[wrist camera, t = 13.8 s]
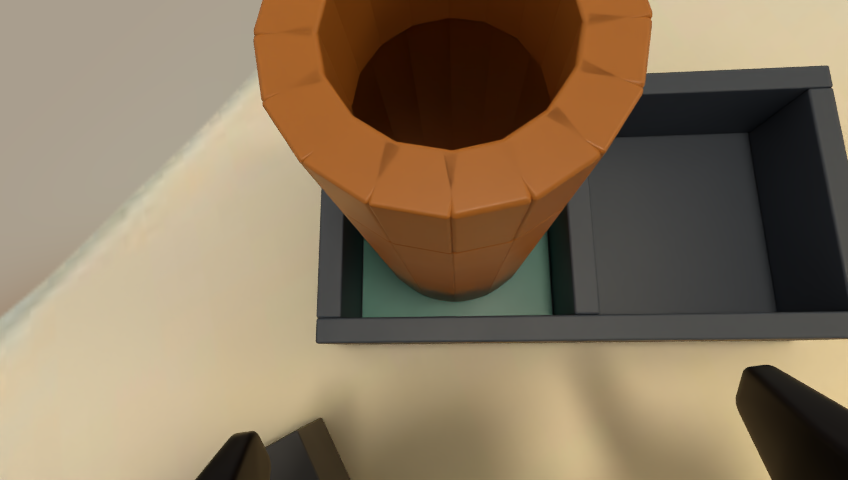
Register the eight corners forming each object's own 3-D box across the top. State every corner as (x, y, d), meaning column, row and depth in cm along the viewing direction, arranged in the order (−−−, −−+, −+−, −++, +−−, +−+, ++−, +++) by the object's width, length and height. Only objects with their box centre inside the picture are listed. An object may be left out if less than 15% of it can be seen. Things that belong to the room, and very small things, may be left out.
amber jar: (516, 314, 18) (628, 250, 6) (367, 286, 19) (206, 177, 7) (538, 171, 20) (670, -119, 7) (397, 148, 20) (305, -153, 8)
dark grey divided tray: (795, 340, 18) (886, 338, 14) (343, 344, 19) (315, 343, 15) (758, 119, 20) (829, 64, 16) (349, 134, 21) (324, 86, 17)
